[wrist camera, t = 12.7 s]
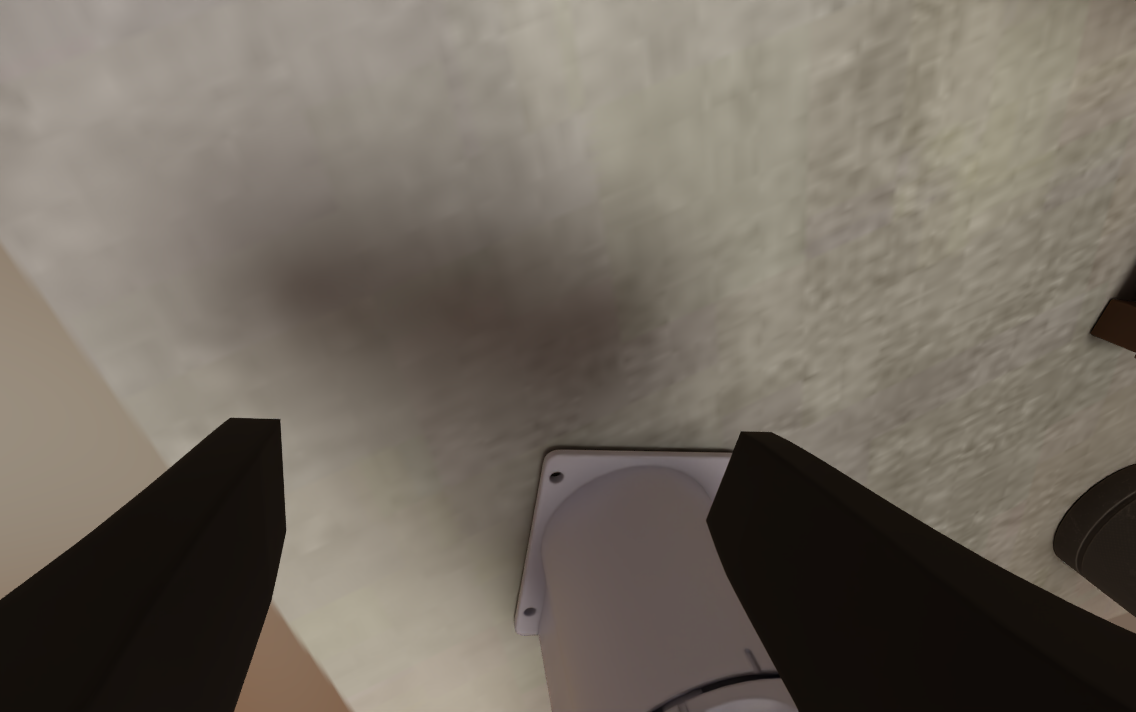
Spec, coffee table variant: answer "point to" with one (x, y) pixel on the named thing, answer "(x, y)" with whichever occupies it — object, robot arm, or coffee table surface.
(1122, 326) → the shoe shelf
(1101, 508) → the flashlight
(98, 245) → the coffee table surface
